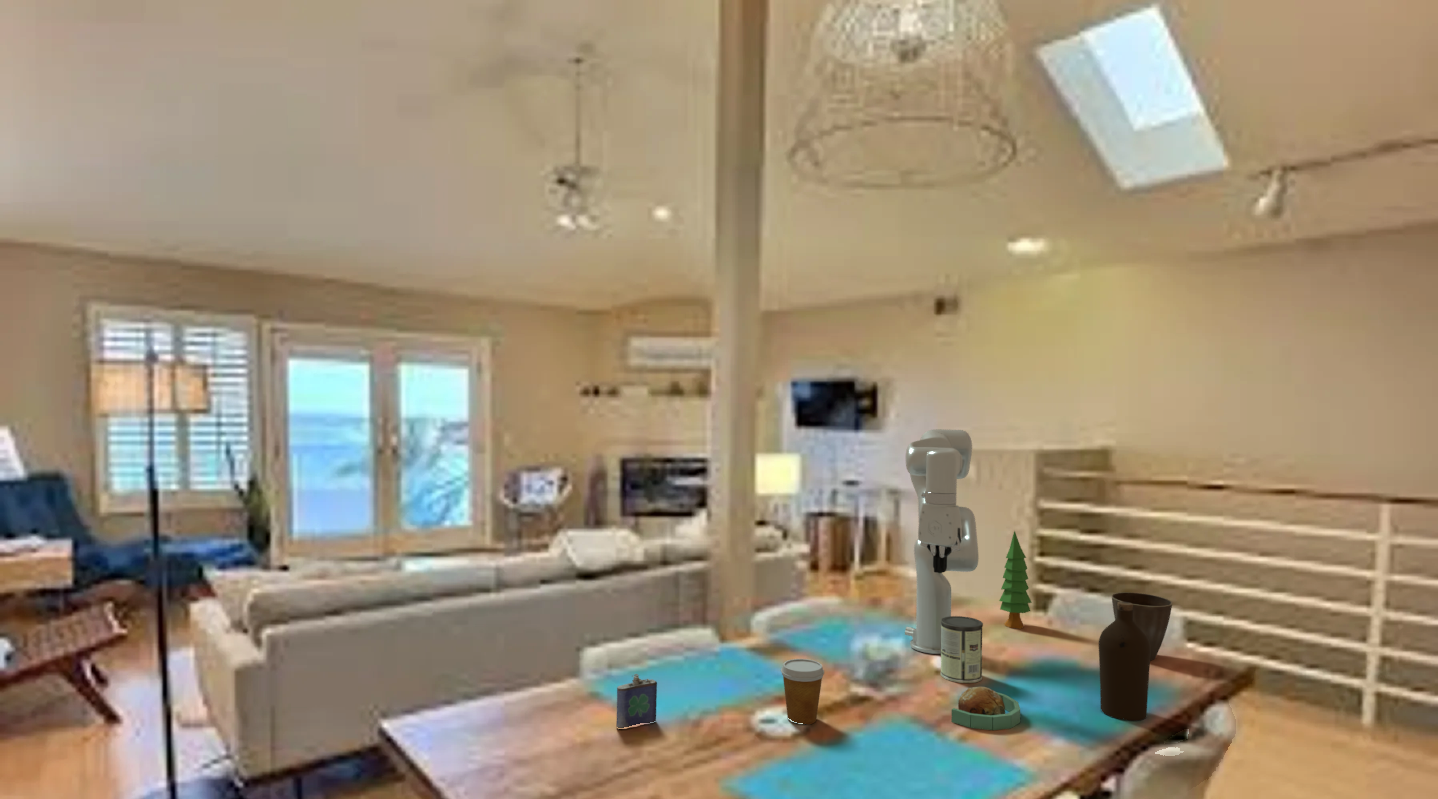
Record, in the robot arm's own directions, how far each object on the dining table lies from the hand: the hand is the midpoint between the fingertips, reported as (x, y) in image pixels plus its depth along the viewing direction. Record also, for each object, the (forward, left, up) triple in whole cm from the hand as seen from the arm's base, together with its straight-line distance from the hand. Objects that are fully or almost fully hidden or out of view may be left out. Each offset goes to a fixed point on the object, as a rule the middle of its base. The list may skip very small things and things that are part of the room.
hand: (939, 571), depth 207 cm
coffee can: (+3, +6, -27) cm, 28 cm away
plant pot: (+30, +57, -27) cm, 70 cm away
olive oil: (+41, +10, -27) cm, 50 cm away
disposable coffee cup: (-8, -45, -27) cm, 53 cm away
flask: (-31, -73, -27) cm, 84 cm away
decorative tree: (-8, +61, -27) cm, 67 cm away
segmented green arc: (+21, -14, -27) cm, 37 cm away
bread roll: (+19, -14, -28) cm, 36 cm away
